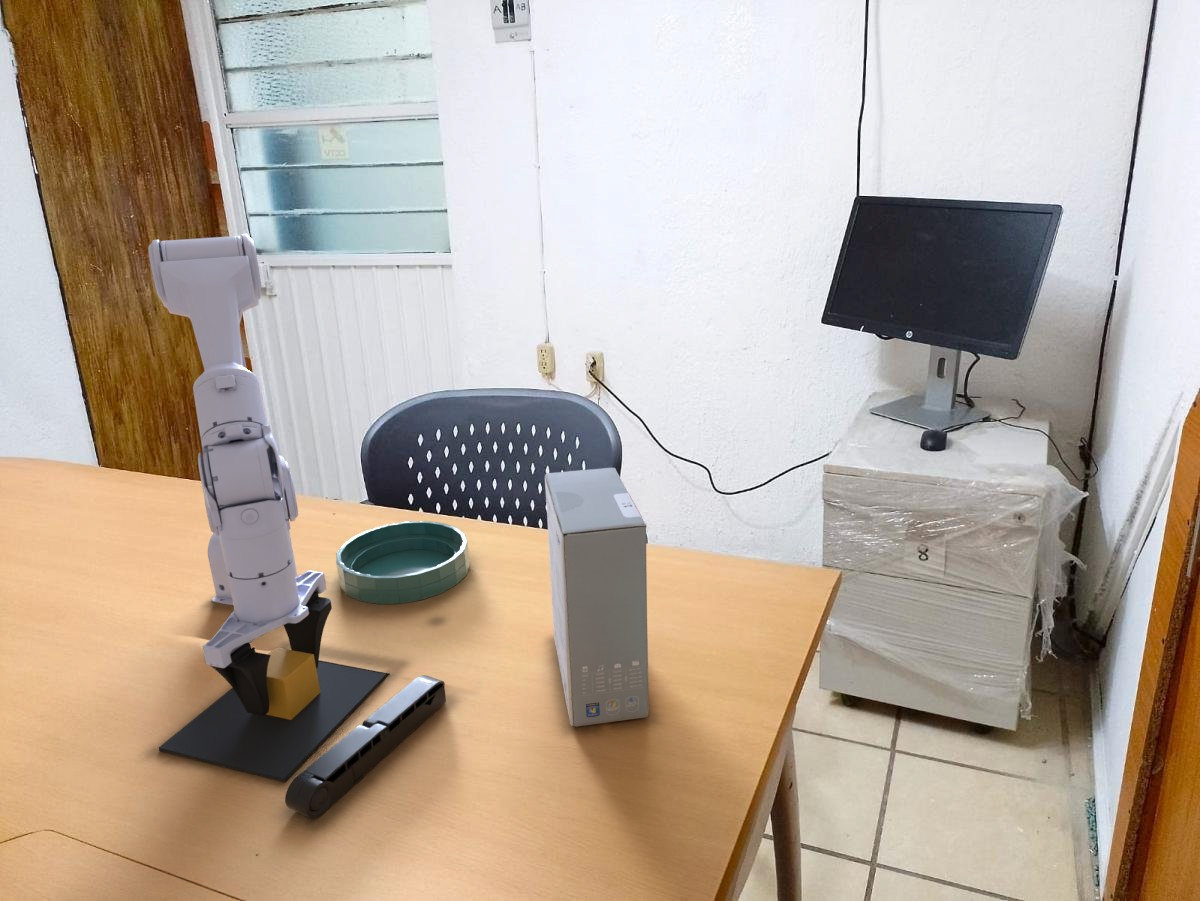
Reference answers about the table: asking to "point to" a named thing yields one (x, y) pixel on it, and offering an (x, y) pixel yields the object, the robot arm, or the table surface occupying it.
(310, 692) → the block
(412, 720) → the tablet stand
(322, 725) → the mat
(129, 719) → the table surface
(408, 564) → the bowl
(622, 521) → the hard drive box
